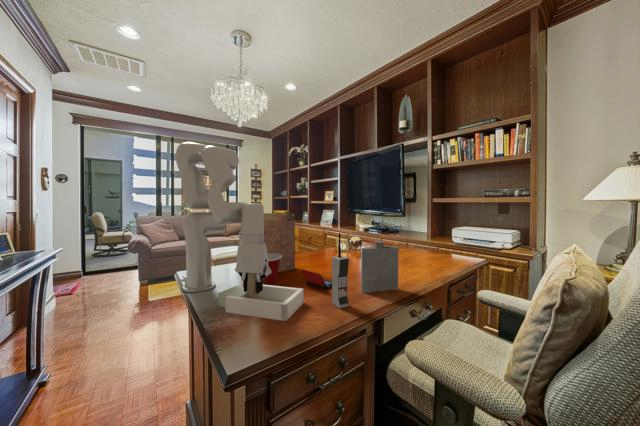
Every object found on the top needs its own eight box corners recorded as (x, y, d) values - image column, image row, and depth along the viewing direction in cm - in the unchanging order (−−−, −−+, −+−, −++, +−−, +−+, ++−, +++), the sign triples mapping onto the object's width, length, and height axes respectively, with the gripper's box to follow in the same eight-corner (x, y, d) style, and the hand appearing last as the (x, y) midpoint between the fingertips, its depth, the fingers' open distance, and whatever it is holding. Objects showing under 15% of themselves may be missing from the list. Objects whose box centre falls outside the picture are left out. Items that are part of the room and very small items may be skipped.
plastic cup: (253, 285, 110) (253, 258, 110) (262, 278, 121) (262, 253, 120) (278, 286, 109) (277, 258, 108) (284, 279, 119) (284, 253, 119)
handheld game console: (338, 286, 109) (338, 269, 109) (320, 292, 102) (320, 274, 102) (318, 280, 118) (318, 264, 118) (300, 285, 111) (300, 268, 111)
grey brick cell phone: (339, 309, 86) (339, 234, 85) (332, 303, 90) (332, 233, 89) (349, 306, 87) (349, 233, 86) (341, 301, 92) (341, 232, 91)
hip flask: (363, 293, 100) (363, 242, 100) (359, 290, 104) (359, 241, 103) (399, 290, 104) (400, 241, 103) (394, 286, 108) (394, 239, 107)
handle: (262, 304, 87) (261, 260, 86) (242, 305, 86) (242, 260, 85) (263, 298, 92) (263, 257, 91) (244, 299, 91) (244, 257, 90)
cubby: (225, 312, 83) (225, 297, 83) (251, 296, 98) (250, 283, 97) (285, 321, 77) (285, 304, 77) (303, 302, 91) (303, 288, 91)
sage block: (218, 305, 89) (218, 293, 89) (237, 297, 97) (237, 285, 97) (238, 310, 85) (238, 297, 85) (256, 301, 93) (255, 288, 93)
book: (244, 275, 126) (244, 214, 125) (243, 270, 135) (243, 213, 134) (295, 270, 135) (294, 213, 134) (291, 266, 144) (290, 213, 142)
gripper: (224, 239, 87) (225, 292, 88) (269, 241, 82) (269, 298, 83) (238, 236, 94) (238, 285, 95) (279, 238, 89) (279, 290, 90)
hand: (253, 291), depth 89 cm, fingers closed on handle, 4 cm apart
